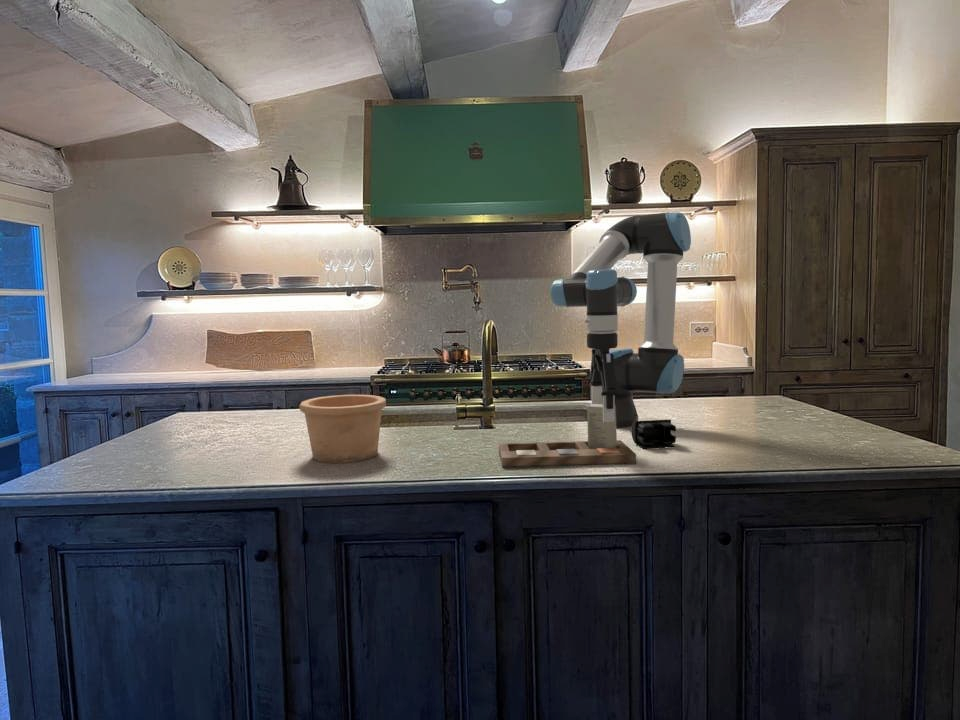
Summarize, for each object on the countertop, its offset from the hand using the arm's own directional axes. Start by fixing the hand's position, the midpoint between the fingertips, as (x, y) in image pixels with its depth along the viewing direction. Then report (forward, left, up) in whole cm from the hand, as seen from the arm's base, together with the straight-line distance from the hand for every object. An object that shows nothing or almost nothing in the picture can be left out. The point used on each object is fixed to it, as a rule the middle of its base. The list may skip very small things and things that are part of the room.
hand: (602, 416), depth 162 cm
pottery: (-31, -59, -10) cm, 67 cm away
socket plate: (-1, -11, -10) cm, 15 cm away
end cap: (-1, +17, -10) cm, 20 cm away
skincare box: (0, 0, -10) cm, 10 cm away
